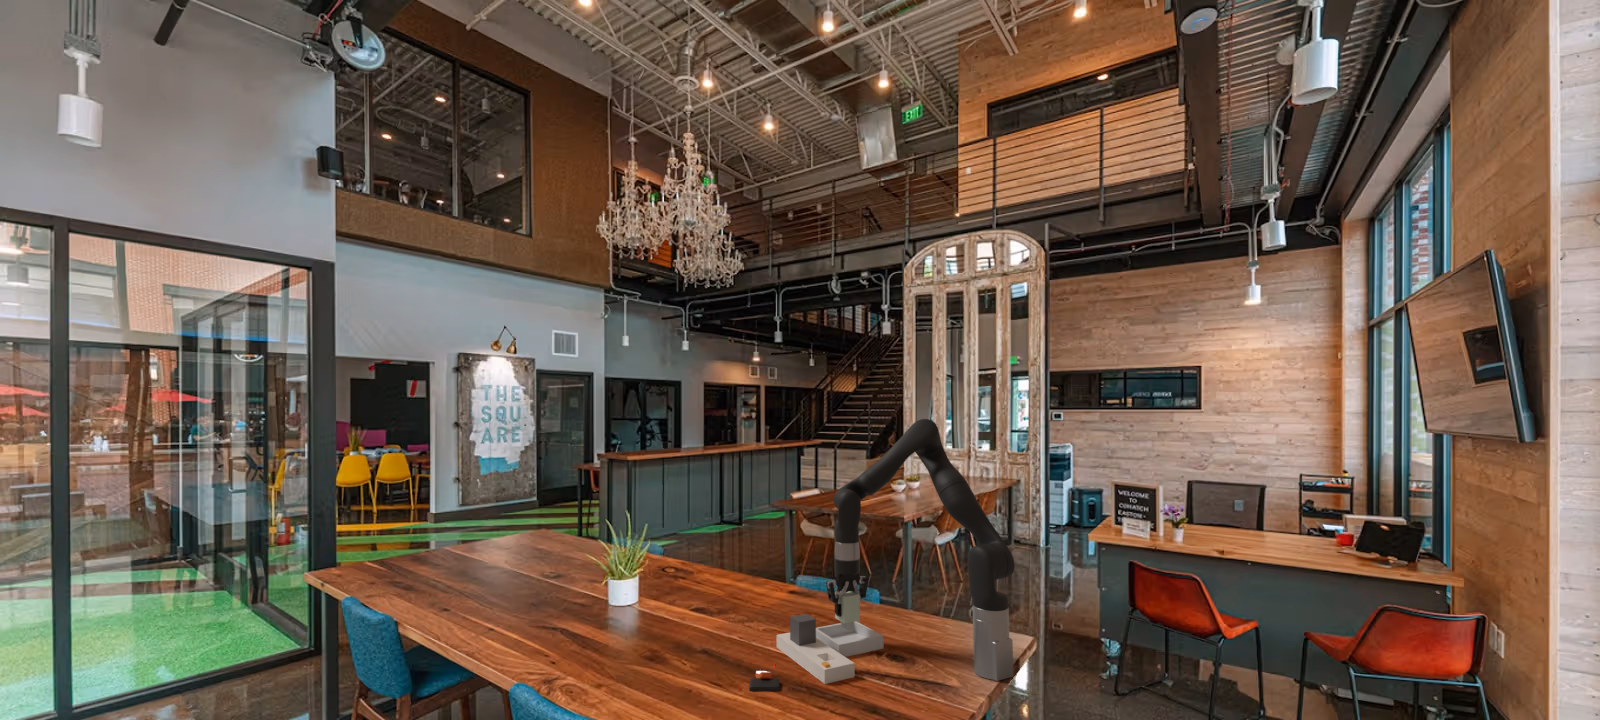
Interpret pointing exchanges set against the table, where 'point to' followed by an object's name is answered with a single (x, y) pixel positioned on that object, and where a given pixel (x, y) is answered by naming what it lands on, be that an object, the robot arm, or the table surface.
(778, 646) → the flat gray board
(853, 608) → the block
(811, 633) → the block
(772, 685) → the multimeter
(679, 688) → the table surface
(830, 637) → the tray
